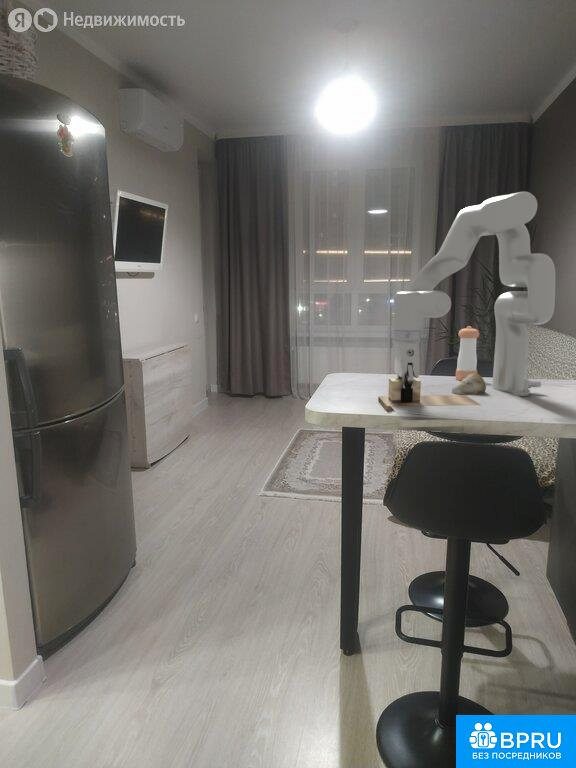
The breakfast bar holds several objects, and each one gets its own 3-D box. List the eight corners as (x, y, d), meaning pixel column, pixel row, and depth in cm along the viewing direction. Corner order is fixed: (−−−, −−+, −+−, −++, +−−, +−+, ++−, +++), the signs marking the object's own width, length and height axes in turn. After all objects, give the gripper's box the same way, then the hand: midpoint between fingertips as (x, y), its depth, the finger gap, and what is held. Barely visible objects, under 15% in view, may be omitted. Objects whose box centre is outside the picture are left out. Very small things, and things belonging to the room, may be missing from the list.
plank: (464, 400, 153) (465, 395, 153) (480, 410, 141) (480, 404, 141) (378, 401, 153) (378, 396, 152) (386, 411, 141) (386, 406, 141)
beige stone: (444, 397, 159) (454, 367, 161) (469, 409, 161) (479, 380, 163) (458, 396, 152) (468, 365, 153) (484, 408, 154) (494, 378, 156)
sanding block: (415, 398, 149) (416, 377, 148) (420, 401, 145) (420, 380, 143) (388, 398, 149) (389, 378, 148) (391, 402, 144) (392, 381, 143)
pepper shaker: (470, 382, 180) (473, 327, 176) (451, 379, 185) (454, 326, 181) (480, 379, 185) (484, 326, 181) (462, 376, 190) (465, 324, 186)
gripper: (428, 339, 135) (425, 407, 138) (411, 333, 151) (409, 393, 155) (400, 340, 135) (398, 407, 138) (386, 333, 151) (384, 394, 155)
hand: (404, 399), depth 147 cm, fingers closed on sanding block, 4 cm apart
